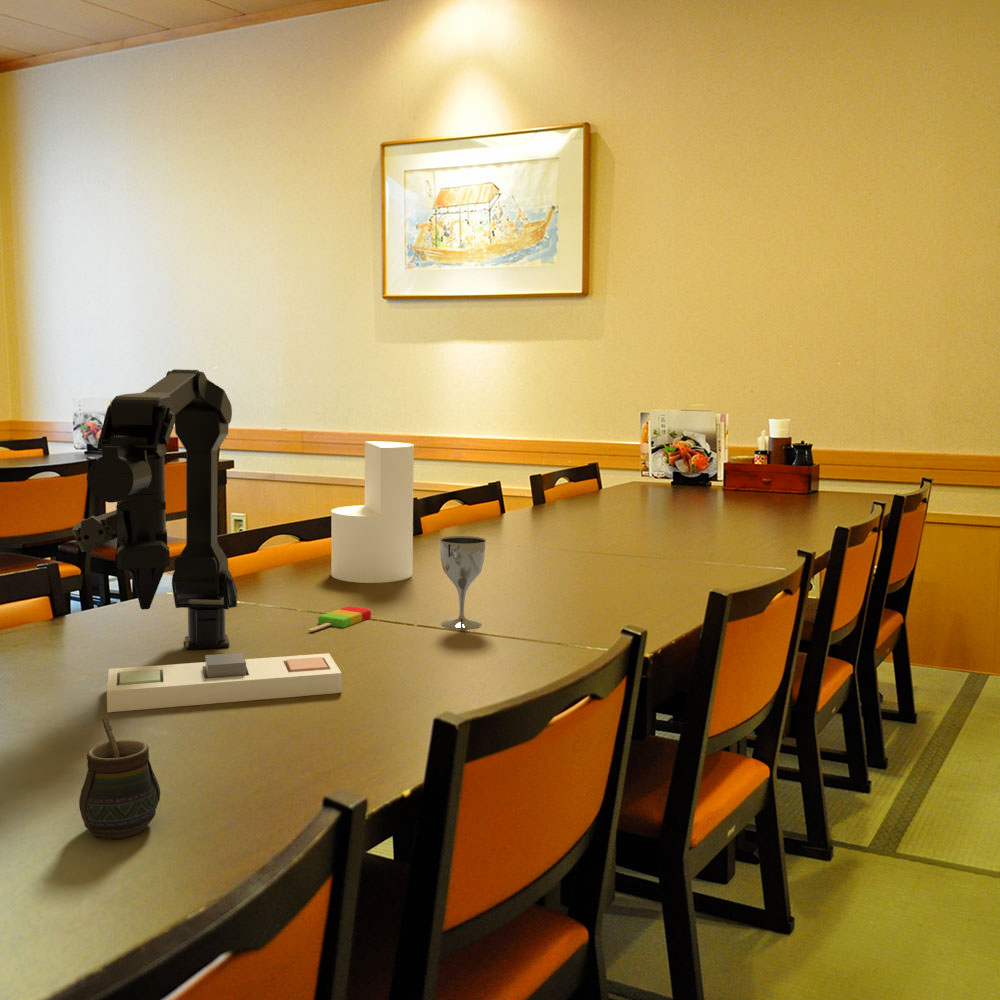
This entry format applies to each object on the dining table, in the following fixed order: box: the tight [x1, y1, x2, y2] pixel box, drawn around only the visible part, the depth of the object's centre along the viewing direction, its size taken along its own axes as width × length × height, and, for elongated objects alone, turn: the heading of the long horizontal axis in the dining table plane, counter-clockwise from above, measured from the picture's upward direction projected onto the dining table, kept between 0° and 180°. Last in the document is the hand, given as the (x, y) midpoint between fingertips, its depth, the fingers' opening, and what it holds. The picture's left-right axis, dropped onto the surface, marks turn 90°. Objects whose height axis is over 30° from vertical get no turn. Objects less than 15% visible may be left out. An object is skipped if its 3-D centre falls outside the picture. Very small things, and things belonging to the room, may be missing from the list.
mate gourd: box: [78, 717, 161, 840], centre depth 98 cm, size 7×8×10 cm
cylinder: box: [330, 440, 415, 584], centre depth 219 cm, size 17×17×28 cm
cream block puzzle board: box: [106, 652, 343, 713], centre depth 140 cm, size 10×30×3 cm, turn 109°
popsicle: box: [308, 606, 372, 633], centre depth 178 cm, size 6×15×2 cm, turn 153°
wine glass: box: [439, 535, 487, 631], centre depth 178 cm, size 8×8×15 cm
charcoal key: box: [204, 652, 246, 679], centre depth 140 cm, size 5×5×2 cm
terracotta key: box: [286, 657, 328, 672], centre depth 144 cm, size 5×5×2 cm
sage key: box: [120, 669, 160, 685], centre depth 136 cm, size 5×5×2 cm
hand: (145, 608), depth 136 cm, fingers closed
